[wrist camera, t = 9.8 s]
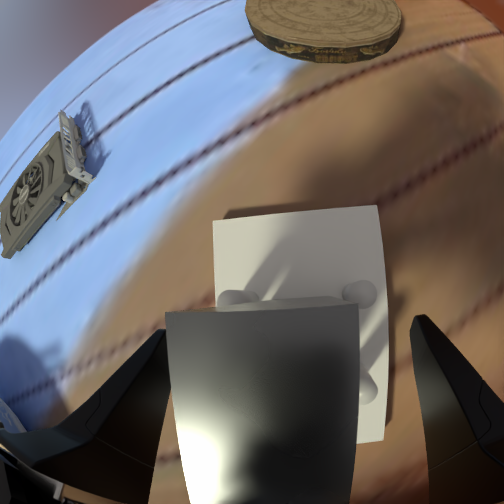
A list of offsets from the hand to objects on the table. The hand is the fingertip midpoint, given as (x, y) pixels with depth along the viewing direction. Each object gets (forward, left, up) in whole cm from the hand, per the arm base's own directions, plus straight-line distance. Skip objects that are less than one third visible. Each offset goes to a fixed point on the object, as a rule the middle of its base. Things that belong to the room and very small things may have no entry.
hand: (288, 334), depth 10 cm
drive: (-1, 0, -8) cm, 8 cm away
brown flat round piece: (+27, -12, -10) cm, 31 cm away
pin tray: (-1, 0, -9) cm, 9 cm away
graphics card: (+20, +25, -10) cm, 33 cm away
